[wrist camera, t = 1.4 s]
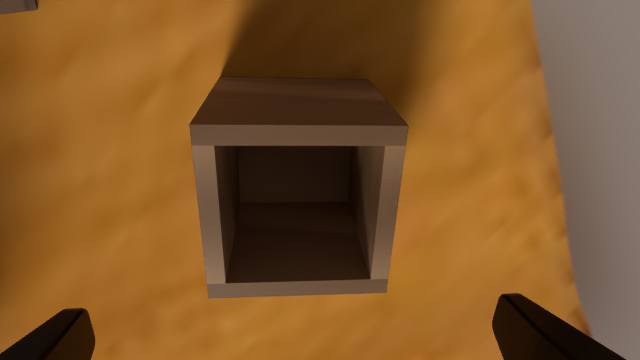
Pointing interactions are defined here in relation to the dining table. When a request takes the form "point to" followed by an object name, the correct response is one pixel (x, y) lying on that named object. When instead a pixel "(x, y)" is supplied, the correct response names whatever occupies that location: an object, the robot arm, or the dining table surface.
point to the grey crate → (16, 6)
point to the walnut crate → (297, 186)
